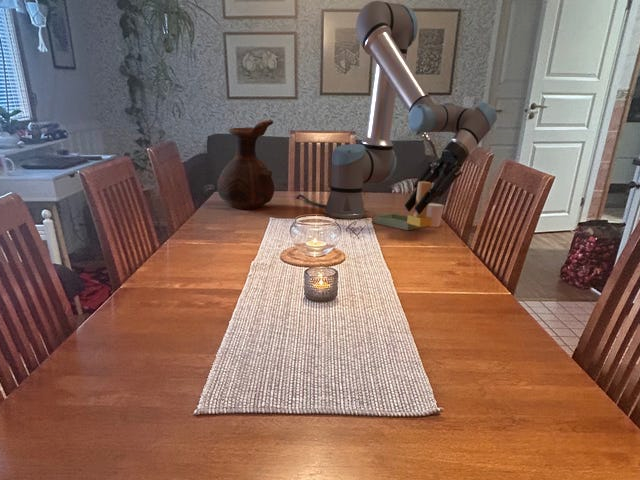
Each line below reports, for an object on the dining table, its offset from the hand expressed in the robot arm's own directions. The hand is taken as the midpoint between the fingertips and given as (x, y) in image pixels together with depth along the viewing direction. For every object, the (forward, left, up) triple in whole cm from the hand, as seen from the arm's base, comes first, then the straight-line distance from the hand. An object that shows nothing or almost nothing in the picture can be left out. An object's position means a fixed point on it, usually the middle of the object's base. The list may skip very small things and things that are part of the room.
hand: (412, 209), depth 187 cm
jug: (-73, -8, -9) cm, 74 cm away
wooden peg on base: (+1, +4, -5) cm, 6 cm away
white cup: (-9, +25, -9) cm, 28 cm away
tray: (-16, +16, -9) cm, 24 cm away
